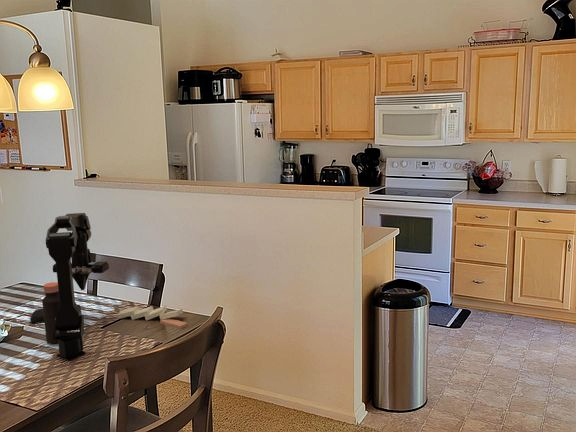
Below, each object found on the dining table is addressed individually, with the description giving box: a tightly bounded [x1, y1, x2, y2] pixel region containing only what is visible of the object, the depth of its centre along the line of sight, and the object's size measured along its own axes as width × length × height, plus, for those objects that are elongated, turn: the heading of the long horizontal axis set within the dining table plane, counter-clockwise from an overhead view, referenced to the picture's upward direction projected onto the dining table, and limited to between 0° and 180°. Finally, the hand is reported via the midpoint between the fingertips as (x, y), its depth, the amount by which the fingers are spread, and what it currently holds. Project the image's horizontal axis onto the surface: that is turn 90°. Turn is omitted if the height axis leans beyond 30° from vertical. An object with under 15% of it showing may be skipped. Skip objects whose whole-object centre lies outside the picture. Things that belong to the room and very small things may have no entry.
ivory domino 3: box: [144, 305, 168, 321], centre depth 210 cm, size 2×5×7 cm
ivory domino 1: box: [115, 305, 140, 320], centre depth 212 cm, size 2×5×7 cm
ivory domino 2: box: [130, 305, 155, 321], centre depth 211 cm, size 2×5×7 cm
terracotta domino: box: [159, 318, 188, 330], centre depth 204 cm, size 2×4×10 cm
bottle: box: [41, 281, 68, 345], centre depth 190 cm, size 7×7×20 cm
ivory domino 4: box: [159, 308, 184, 321], centre depth 208 cm, size 2×5×7 cm
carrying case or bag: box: [29, 308, 44, 324], centre depth 213 cm, size 11×3×15 cm
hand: (82, 289), depth 204 cm, fingers closed
